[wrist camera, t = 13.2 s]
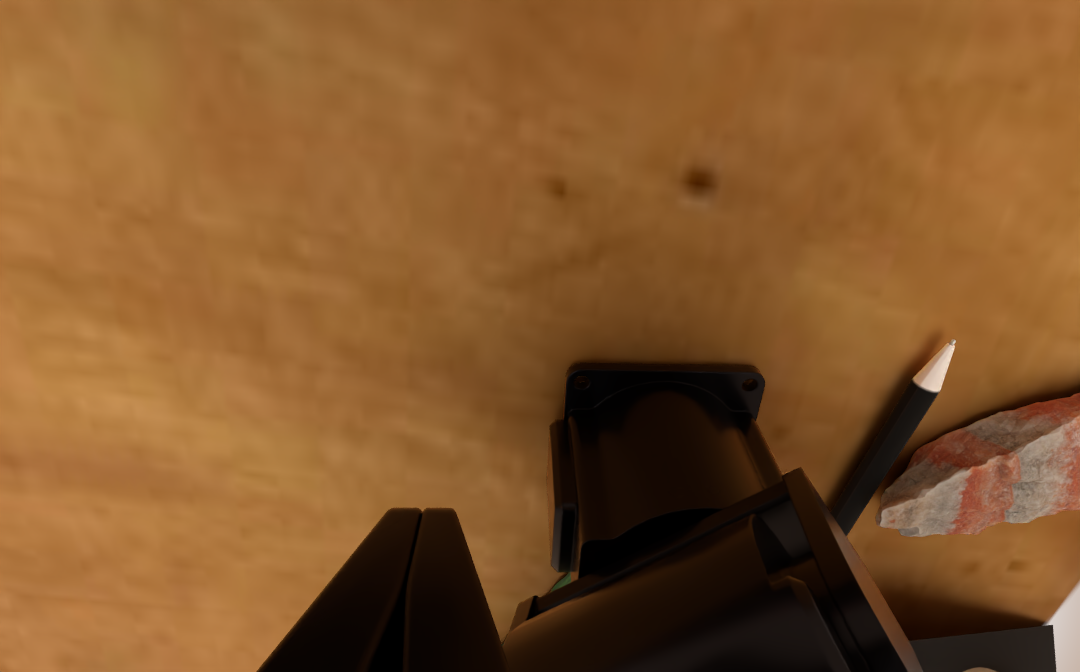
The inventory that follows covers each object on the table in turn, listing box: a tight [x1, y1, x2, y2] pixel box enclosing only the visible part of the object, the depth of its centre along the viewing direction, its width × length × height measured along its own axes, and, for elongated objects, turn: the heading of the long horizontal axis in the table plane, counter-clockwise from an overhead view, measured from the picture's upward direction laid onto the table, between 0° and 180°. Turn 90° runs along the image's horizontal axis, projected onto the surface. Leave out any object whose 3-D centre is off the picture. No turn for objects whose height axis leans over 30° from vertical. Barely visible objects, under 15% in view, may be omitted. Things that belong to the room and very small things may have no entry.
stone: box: [876, 393, 1080, 537], centre depth 23 cm, size 12×2×5 cm
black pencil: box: [830, 339, 956, 536], centre depth 25 cm, size 1×19×1 cm, turn 167°
